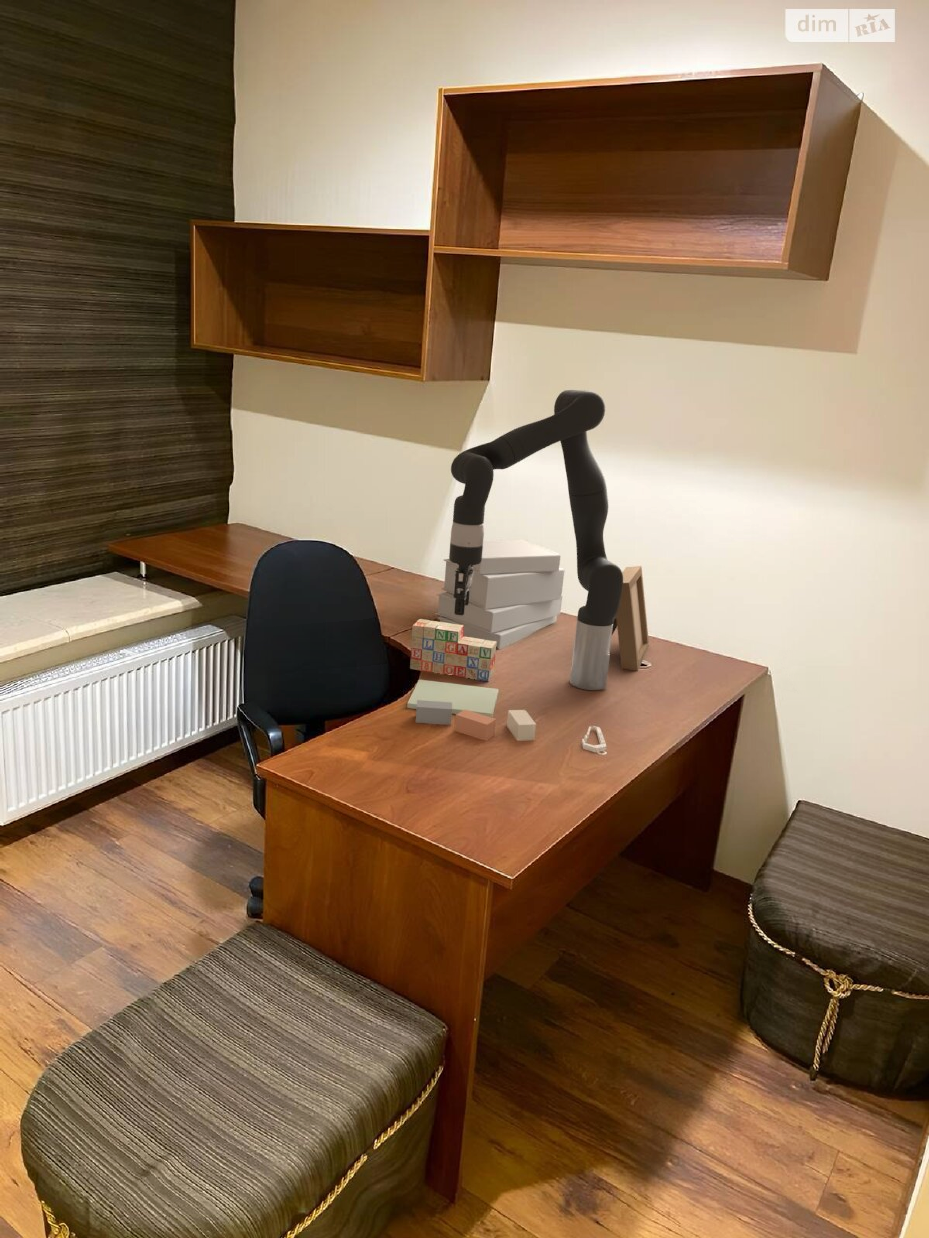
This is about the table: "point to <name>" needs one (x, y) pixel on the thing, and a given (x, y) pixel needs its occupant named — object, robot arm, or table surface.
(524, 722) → the cream brick
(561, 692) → the table surface
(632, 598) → the photo frame
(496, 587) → the book stack
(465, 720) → the terracotta brick
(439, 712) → the slate brick
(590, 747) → the white triangle frame
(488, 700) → the sage baseplate
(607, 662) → the robot arm
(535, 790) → the table surface
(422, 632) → the stack of blocks
